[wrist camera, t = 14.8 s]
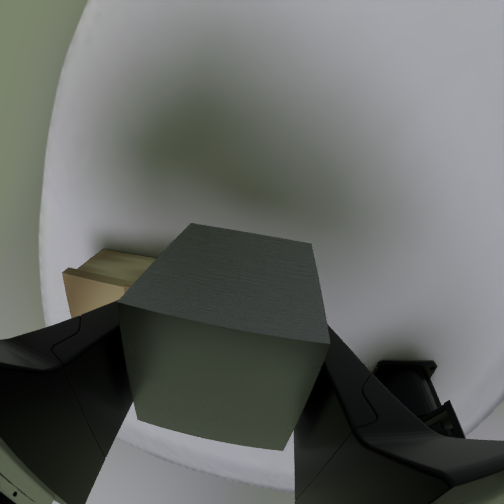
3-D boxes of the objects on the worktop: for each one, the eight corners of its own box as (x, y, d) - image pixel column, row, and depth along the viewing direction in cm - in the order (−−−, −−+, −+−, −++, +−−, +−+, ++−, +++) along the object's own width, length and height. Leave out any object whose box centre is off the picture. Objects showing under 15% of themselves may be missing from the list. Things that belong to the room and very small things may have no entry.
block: (311, 243, 10) (330, 343, 5) (287, 339, 11) (282, 450, 7) (190, 222, 10) (117, 301, 5) (186, 320, 11) (137, 419, 7)
